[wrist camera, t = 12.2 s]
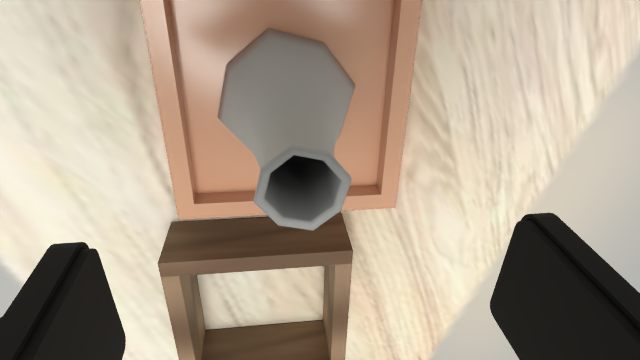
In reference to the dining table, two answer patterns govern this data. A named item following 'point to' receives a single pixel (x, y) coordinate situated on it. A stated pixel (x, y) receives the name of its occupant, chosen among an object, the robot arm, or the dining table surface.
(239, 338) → the frame
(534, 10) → the dining table surface
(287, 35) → the flask
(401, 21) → the terracotta tray
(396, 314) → the dining table surface
